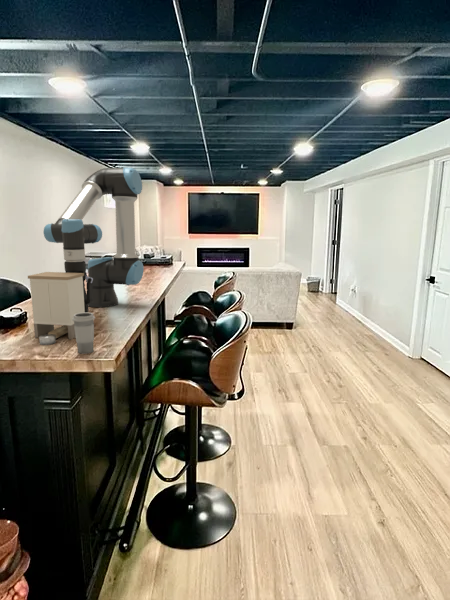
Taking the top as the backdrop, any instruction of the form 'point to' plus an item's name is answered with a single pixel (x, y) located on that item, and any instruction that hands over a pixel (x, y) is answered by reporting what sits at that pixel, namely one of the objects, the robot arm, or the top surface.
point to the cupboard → (56, 300)
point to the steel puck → (47, 339)
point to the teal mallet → (60, 331)
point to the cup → (84, 331)
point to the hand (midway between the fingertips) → (78, 320)
